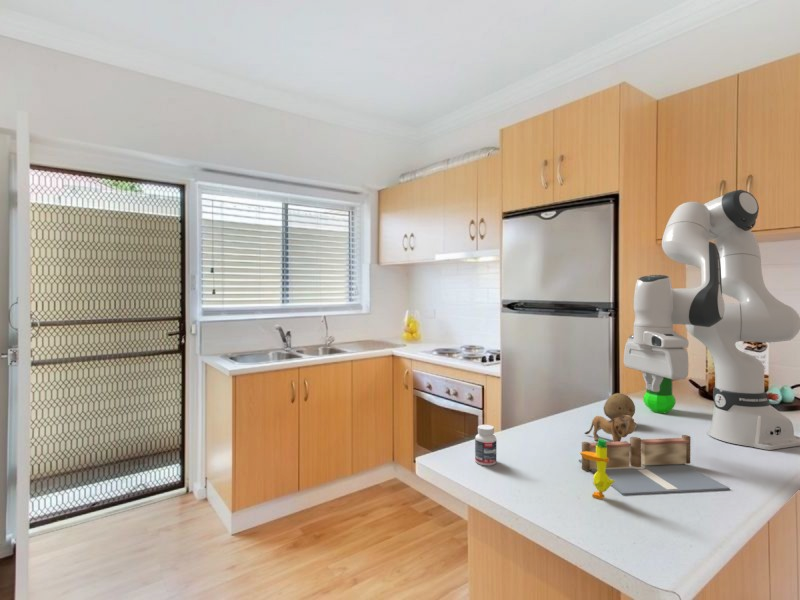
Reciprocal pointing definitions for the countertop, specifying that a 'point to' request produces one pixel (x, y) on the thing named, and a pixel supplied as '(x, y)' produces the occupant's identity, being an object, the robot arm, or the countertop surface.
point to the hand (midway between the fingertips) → (652, 390)
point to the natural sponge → (619, 406)
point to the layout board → (660, 479)
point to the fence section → (615, 454)
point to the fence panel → (665, 451)
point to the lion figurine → (613, 427)
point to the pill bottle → (485, 445)
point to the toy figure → (599, 468)
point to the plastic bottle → (660, 397)
